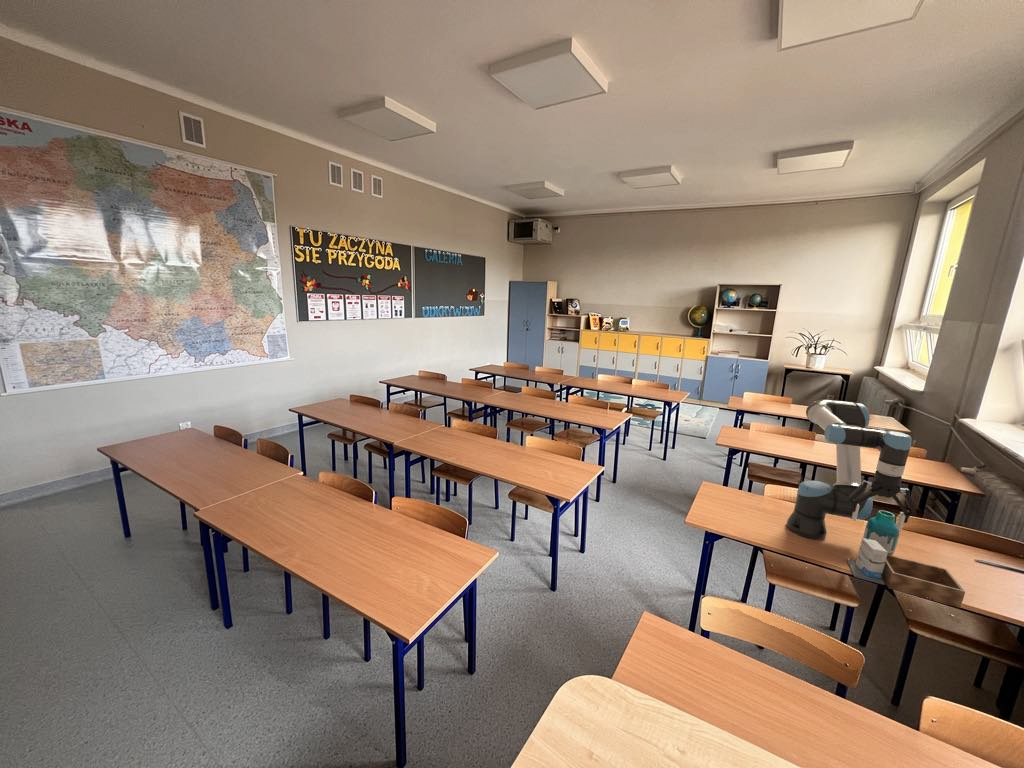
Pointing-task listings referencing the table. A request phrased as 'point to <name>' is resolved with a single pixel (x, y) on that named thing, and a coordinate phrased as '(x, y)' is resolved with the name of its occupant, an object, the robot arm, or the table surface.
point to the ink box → (871, 558)
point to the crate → (922, 580)
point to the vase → (883, 531)
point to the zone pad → (861, 573)
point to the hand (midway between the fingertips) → (875, 524)
